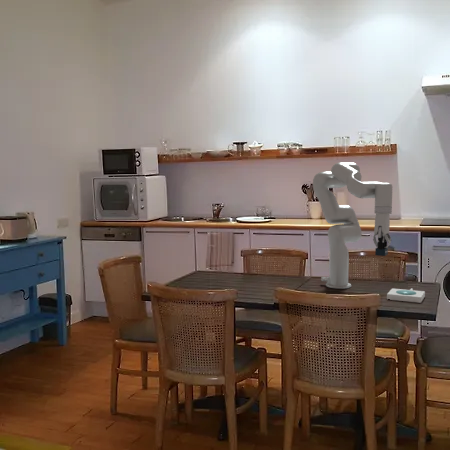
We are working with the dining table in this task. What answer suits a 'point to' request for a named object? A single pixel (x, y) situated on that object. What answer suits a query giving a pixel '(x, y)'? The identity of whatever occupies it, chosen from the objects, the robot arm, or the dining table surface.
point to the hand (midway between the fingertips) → (382, 250)
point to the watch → (383, 251)
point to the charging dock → (406, 295)
